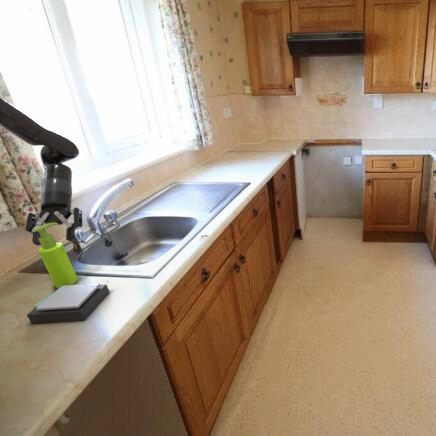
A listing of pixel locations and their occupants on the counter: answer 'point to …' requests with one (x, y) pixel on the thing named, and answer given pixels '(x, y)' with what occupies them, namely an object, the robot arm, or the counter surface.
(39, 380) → the counter surface
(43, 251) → the soap dispenser
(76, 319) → the kitchen scale
